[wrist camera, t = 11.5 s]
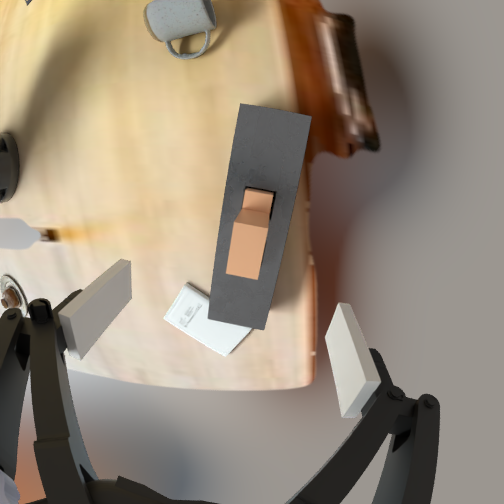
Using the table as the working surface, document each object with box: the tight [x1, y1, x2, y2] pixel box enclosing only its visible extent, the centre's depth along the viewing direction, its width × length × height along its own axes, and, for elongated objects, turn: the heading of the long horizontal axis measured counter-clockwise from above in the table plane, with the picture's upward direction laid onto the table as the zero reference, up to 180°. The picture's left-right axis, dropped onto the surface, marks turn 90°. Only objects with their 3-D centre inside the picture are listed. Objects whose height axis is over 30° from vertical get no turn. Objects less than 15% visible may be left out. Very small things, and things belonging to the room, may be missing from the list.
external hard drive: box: [163, 283, 252, 357], centre depth 43 cm, size 2×8×12 cm
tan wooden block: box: [226, 188, 273, 280], centre depth 30 cm, size 3×9×12 cm, turn 170°
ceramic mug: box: [144, 0, 217, 59], centre depth 24 cm, size 11×8×8 cm
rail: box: [207, 103, 312, 330], centre depth 34 cm, size 8×28×5 cm, turn 170°
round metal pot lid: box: [0, 276, 27, 317], centre depth 46 cm, size 12×12×5 cm
